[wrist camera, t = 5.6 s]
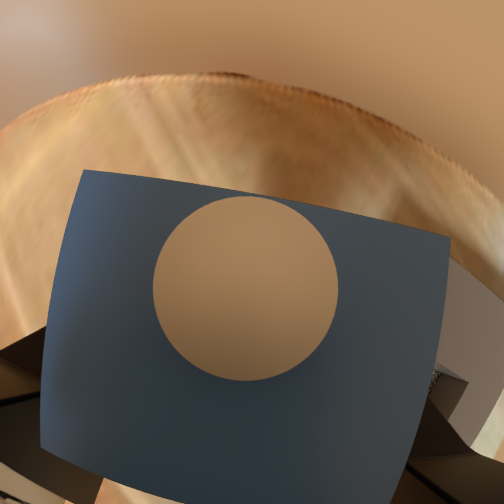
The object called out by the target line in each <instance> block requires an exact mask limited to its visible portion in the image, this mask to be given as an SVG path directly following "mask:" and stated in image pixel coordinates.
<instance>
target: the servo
mask: <svg viewBox="0 0 504 504" xmlns="http://www.w3.org/2000/svg"><path fill="white" fill-rule="evenodd" d="M450 238H451V237H447V236H443V235H439V234H436V233H432V232H428V231H424V230H420V229H416V228H412V227H408V226H404V225H400V224H396V223H392V222H388V221H384V220H379V219H375V218H371V217H366V216H362V215H357V214H353V213H348V212H344V211H339V210H335V209H330V208H325V207H320V206H316V205H311V204H306V203H301V202H296V201H291V200H285V199H280V198H275V197H270V196H264V195H259V194H253V193H247V192H242V191H236V190H230V189H224V188H218V187H212V186H206V185H199V184H193V183H186V182H180V181H173V180H166V179H159V178H151V177H144V176H136V175H128V174H120V173H112V172H103V171H94V170H83V173H82V176H81V179H80V182H79V185H78V188H77V191H76V195H75V198H74V201H73V204H72V208H71V211H70V215H69V218H68V222H67V226H66V229H65V233H64V237H63V241H62V245H61V250H60V254H59V258H58V263H57V267H56V272H55V277H54V282H53V288H52V293H51V299H50V305H49V311H48V318H47V325H46V333H45V342H44V351H43V362H42V376H41V397H40V443H41V448H43V449H44V450H46V451H48V452H50V453H52V454H54V455H56V456H58V457H60V458H62V459H64V460H66V461H68V462H70V463H72V464H74V465H76V466H79V467H81V468H83V469H85V470H87V471H90V472H92V473H94V474H97V475H99V476H102V477H104V478H107V479H109V480H112V481H114V482H117V483H120V484H122V485H125V486H128V487H131V488H134V489H137V490H140V491H143V492H146V493H149V494H152V495H155V496H159V497H162V498H166V499H169V500H173V501H177V502H180V503H184V504H389V503H390V501H391V499H392V497H393V494H394V492H395V490H396V487H397V485H398V482H399V480H400V477H401V475H402V472H403V470H404V467H405V465H406V462H407V459H408V456H409V454H410V451H411V448H412V445H413V442H414V439H415V436H416V433H417V430H418V426H419V423H420V420H421V416H422V413H423V409H424V406H425V402H426V398H427V394H428V390H429V386H430V382H431V378H432V374H433V369H434V365H435V360H436V355H437V350H438V344H439V339H440V333H441V327H442V321H443V314H444V307H445V299H446V290H447V281H448V270H449V256H450Z"/></svg>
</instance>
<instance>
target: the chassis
mask: <svg viewBox="0 0 504 504" xmlns="http://www.w3.org/2000/svg"><path fill="white" fill-rule="evenodd" d="M434 369H435V370H437V371H438V372H440V373H441V376H440V377H439V379H438V381H437V383H436V384H435V386H434V388H433V390H432V391H431V393H430V395H429V397H430V398H431V400H432V401H433V402H434V404H435V405H436V406H437V408H438V409H439V410H440V411H441V413H442V414H443V415H444V416H445V418H446V419H447V420H448V422H449V423H450V424H451V425H452V427H453V428H454V429H455V430H456V432H457V433H458V434H459V436H460V437H461V438H462V439H463V441H464V442H465V443H466V444H467V445H468V446H469V447H471V445H472V444H473V442H474V440H475V439H476V437H477V436H478V434H479V432H480V431H481V429H482V427H483V425H484V424H485V422H486V420H487V419H488V417H489V415H490V413H491V411H492V409H493V408H494V406H495V404H496V402H497V400H498V398H499V396H500V394H501V392H502V390H503V388H504V302H503V301H502V300H501V299H500V298H498V297H497V296H496V295H495V294H494V293H493V292H492V291H490V290H489V289H488V288H487V287H486V286H485V285H484V284H482V283H481V282H480V281H479V280H478V279H476V278H475V277H474V276H473V275H472V274H470V273H469V272H468V271H467V270H466V269H464V268H463V267H462V266H461V265H459V264H458V263H457V262H456V261H454V260H453V259H452V258H451V257H449V270H448V281H447V290H446V299H445V307H444V314H443V321H442V327H441V333H440V339H439V344H438V350H437V355H436V360H435V365H434Z"/></svg>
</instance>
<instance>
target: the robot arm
mask: <svg viewBox="0 0 504 504" xmlns="http://www.w3.org/2000/svg"><path fill="white" fill-rule="evenodd" d="M45 333H46V326H45V327H43V328H41V329H39V330H37V331H36V332H34V333H32V334H30V335H28V336H26V337H24V338H22V339H20V340H19V341H17V342H15V343H13V344H11V345H9V346H7V347H6V348H4V349H2V350H0V504H64V502H65V500H68V501H70V502H72V503H74V504H94V503H95V500H96V497H97V494H98V492H99V489H100V486H101V484H102V481H103V478H104V477H102V476H99V475H97V474H94V473H92V472H90V471H87V470H85V469H83V468H81V467H79V466H76V465H74V464H72V463H70V462H68V461H66V460H64V459H62V458H60V457H58V456H56V455H54V454H52V453H50V452H48V451H46V450H44V449H43V448H41V443H40V397H41V376H42V362H43V351H44V342H45ZM389 504H504V463H502V462H499V461H496V460H494V459H491V458H488V457H485V456H483V455H480V454H479V453H477V452H475V451H474V450H472V449H471V448H470V447H469V446H468V445H467V444H466V443H465V442H464V441H463V439H462V438H461V437H460V436H459V434H458V433H457V432H456V430H455V429H454V428H453V427H452V425H451V424H450V423H449V422H448V420H447V419H446V418H445V416H444V415H443V414H442V413H441V411H440V410H439V409H438V408H437V406H436V405H435V404H434V402H433V401H432V400H431V398H430V397H429V396H428V394H427V398H426V402H425V406H424V409H423V413H422V416H421V420H420V423H419V426H418V430H417V433H416V436H415V439H414V442H413V445H412V448H411V451H410V454H409V456H408V459H407V462H406V465H405V467H404V470H403V472H402V475H401V477H400V480H399V482H398V485H397V487H396V490H395V492H394V494H393V497H392V499H391V501H390V503H389Z"/></svg>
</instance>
